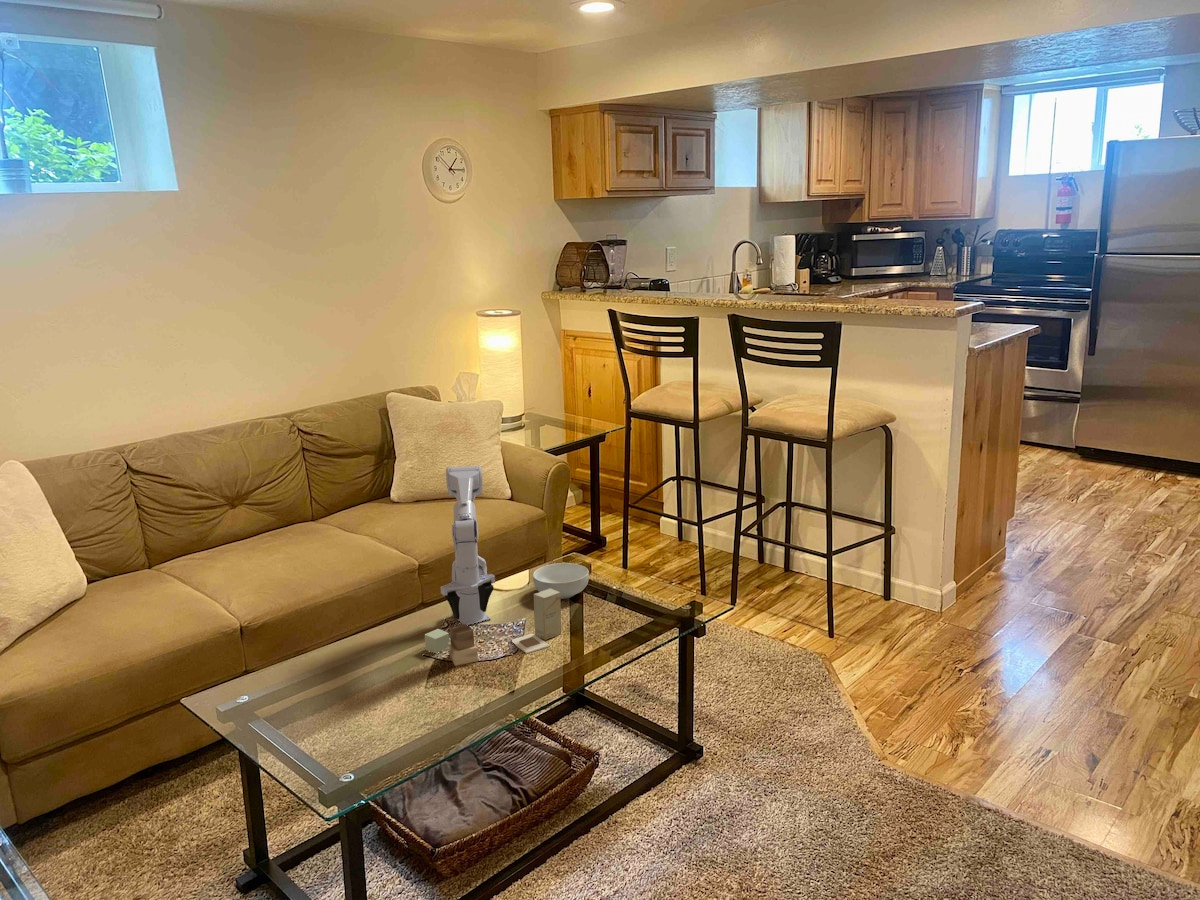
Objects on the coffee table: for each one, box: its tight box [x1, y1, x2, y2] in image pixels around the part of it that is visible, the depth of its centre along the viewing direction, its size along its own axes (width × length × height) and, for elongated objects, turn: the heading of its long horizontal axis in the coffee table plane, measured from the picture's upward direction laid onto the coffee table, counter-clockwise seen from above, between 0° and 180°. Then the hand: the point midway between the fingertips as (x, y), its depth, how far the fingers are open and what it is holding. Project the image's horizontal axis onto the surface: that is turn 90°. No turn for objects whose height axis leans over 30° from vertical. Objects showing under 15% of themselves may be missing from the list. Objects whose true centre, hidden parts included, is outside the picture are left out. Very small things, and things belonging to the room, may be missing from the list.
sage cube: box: [424, 628, 450, 655], centre depth 233 cm, size 4×4×4 cm
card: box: [511, 633, 551, 655], centre depth 236 cm, size 9×7×1 cm
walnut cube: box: [449, 624, 475, 651], centre depth 227 cm, size 4×4×4 cm
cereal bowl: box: [532, 562, 590, 600], centre depth 268 cm, size 17×17×7 cm
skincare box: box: [533, 588, 562, 641], centre depth 240 cm, size 6×4×12 cm
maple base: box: [448, 642, 479, 667], centre depth 228 cm, size 6×6×4 cm
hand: (469, 614), depth 230 cm, fingers open, 7 cm apart
